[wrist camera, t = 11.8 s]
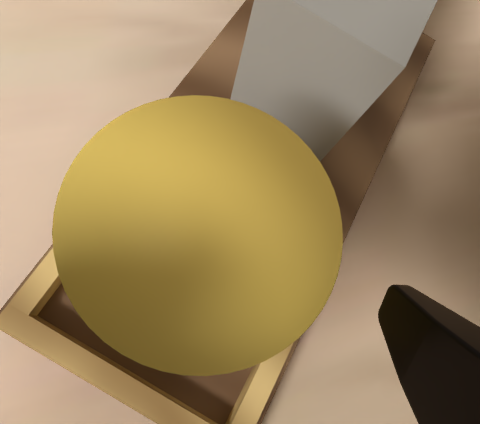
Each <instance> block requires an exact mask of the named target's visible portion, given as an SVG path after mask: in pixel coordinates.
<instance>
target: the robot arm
mask: <svg viewBox="0 0 480 424" xmlns="http://www.w3.org/2000/svg"><path fill="white" fill-rule="evenodd" d="M378 318H379V323H380V326H381V329H382V332H383V335H384V337H385V340H386V343H387V346H388V349H389V352H390V355H391V358H392V361H393V364H394V367H395V369H396V372H397V375H398V378H399V380H400V383H401V385H402V388H403V390H404V392H405V395H406V397H407V399H408V401H409V404H410V406H411V408H412V410H413V412H414V415H415V417H416V419H417V421H418V423H419V424H480V327H479V326H477V325H475V324H474V323H472V322H470V321H468V320H467V319H465V318H463V317H462V316H460V315H458V314H457V313H455V312H453V311H452V310H450V309H448V308H446V307H445V306H443V305H441V304H440V303H438V302H436V301H435V300H433V299H431V298H429V297H428V296H426V295H424V294H423V293H421V292H419V291H418V290H416V289H414V288H413V287H411V286H408V285H391V286H390V287H389V288H388V290H387V292H386V295H385V297H384V299H383V302H382V304H381V307H380V309H379V313H378Z"/></svg>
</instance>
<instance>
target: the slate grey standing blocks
mask: <svg viewBox="0 0 480 424" xmlns="http://www.w3.org/2000/svg"><path fill="white" fill-rule="evenodd" d="M436 2H437V0H254V3H253V7H252V11H251V15H250V19H249V24H248V28H247V32H246V36H245V40H244V44H243V48H242V53H241V57H240V61H239V65H238V69H237V73H236V77H235V82H234V86H233V90H232V94H231V98H230V100H234V101H238V102H241V103H244V104H247V105H250V106H252V107H255V108H257V109H259V110H261V111H263V112H265V113H267V114H269V115H271V116H273V117H274V118H276V119H277V120H279V121H280V122H282V123H283V124H284V125H286V126H287V127H288V128H290V129H291V130H292V131H293V132H294V133H295V134H297V135H298V136H299V137H300V138H301V139H302V140H303V141H304V142H305V144H306V145H307V146H308V147H309V148H310V149H311V150H312V152H313V153H314V154H315V156H316V157H317V158H318V160H319V161H321V160H322V159H323V158H324V157H325V156H326V155H327V153H328V152H329V151H330V150H331V149H332V148H333V147H334V146H335V145H336V144H337V142H338V141H339V140H340V139H341V138H342V137H343V136H344V135H345V134H346V132H347V131H348V130H349V129H350V128H351V127H352V126H353V125H354V124H355V122H356V121H357V120H358V119H359V118H360V117H361V116H362V115H363V114H364V113H365V111H366V110H367V109H368V108H369V107H370V106H371V105H372V104H373V103H374V101H375V100H376V99H377V98H378V97H379V96H380V95H381V94H382V93H383V92H384V90H385V89H386V88H387V87H388V86H389V85H390V84H391V83H392V82H393V80H394V79H395V78H396V77H397V76H398V75H399V74H400V73H401V72H402V70H403V69H404V68H405V67H406V65H407V63H408V61H409V59H410V56H411V54H412V52H413V50H414V48H415V46H416V44H417V42H418V40H419V38H420V36H421V34H422V31H423V29H424V27H425V25H426V23H427V21H428V19H429V17H430V15H431V13H432V11H433V9H434V6H435V4H436Z"/></svg>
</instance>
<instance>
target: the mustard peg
mask: <svg viewBox="0 0 480 424" xmlns="http://www.w3.org/2000/svg"><path fill="white" fill-rule="evenodd" d="M52 238H53V253H54V257H55V262H56V267H57V271H58V274H59V277H60V280H61V282H62V285H63V288H64V290H65V292H66V294H67V296H68V298H69V300H70V301H71V303H72V305H73V307H74V309H75V310H76V312H77V313H78V314H79V315H80V317H81V318H82V319H83V321H84V322H85V323H86V324H87V326H88V327H89V328H90V329H91V330H92V331H93V332H94V333H95V334H96V335H97V336H98V337H99V338H100V339H102V340H103V341H104V342H105V343H106V344H108V345H109V346H110V347H112V348H113V349H115V350H116V351H118V352H119V353H120V354H122V355H124V356H126V357H128V358H130V359H132V360H134V361H136V362H138V363H140V364H141V365H144V366H147V367H150V368H153V369H156V370H159V371H162V372H168V373H174V374H179V375H188V376H211V375H220V374H228V373H231V372H235V371H239V370H243V369H247V368H249V367H252V366H254V365H257V364H259V363H261V362H264V361H266V360H268V359H270V358H271V357H273V356H275V355H276V354H278V353H280V352H281V351H283V350H284V349H286V348H287V347H288V346H289V345H291V344H292V343H293V342H294V341H296V340H297V339H298V338H299V337H300V336H301V335H302V334H303V333H304V332H305V331H306V330H307V329H308V328H309V327H310V326H311V325H312V323H313V322H314V320H315V319H316V318H317V316H318V315H319V313H320V312H321V311H322V309H323V307H324V306H325V304H326V302H327V300H328V298H329V296H330V294H331V292H332V289H333V287H334V284H335V281H336V278H337V276H338V271H339V267H340V262H341V257H342V245H343V231H342V220H341V214H340V207H339V204H338V201H337V197H336V194H335V191H334V188H333V186H332V184H331V181H330V179H329V177H328V175H327V173H326V171H325V170H324V168H323V166H322V164H321V163H320V161H319V160H318V158H317V157H316V156H315V154H314V153H313V152H312V150H311V149H310V148H309V147H308V146H307V145H306V144H305V142H304V141H303V140H302V139H301V138H300V137H299V136H298V135H297V134H295V133H294V132H293V131H292V130H291V129H290V128H288V127H287V126H286V125H284V124H283V123H282V122H280V121H279V120H277V119H276V118H274V117H273V116H271V115H269V114H267V113H265V112H263V111H261V110H259V109H257V108H255V107H252V106H250V105H247V104H244V103H241V102H238V101H234V100H230V99H227V98H220V97H214V96H200V95H190V96H176V97H171V98H165V99H160V100H157V101H153V102H150V103H147V104H144V105H141V106H139V107H137V108H134V109H132V110H130V111H128V112H126V113H124V114H123V115H121V116H119V117H118V118H116V119H114V120H113V121H111V122H110V123H109V124H107V125H106V126H105V127H104V128H102V129H101V130H100V131H98V132H97V133H96V134H95V135H94V136H93V137H92V138H91V140H90V141H89V142H88V143H87V144H86V145H85V146H84V147H83V148H82V150H81V151H80V152H79V154H78V155H77V156H76V158H75V159H74V161H73V163H72V164H71V166H70V168H69V170H68V172H67V173H66V175H65V177H64V180H63V182H62V185H61V188H60V190H59V193H58V197H57V201H56V205H55V209H54V216H53V228H52Z"/></svg>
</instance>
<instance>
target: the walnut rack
mask: <svg viewBox="0 0 480 424" xmlns="http://www.w3.org/2000/svg"><path fill="white" fill-rule="evenodd" d="M253 3H254V0H246V1H245V2H244V3H243V5H242V6H241V7H240V9H239V10H238V11H237V12H236V14H235V15H234V16H233V17H232V19H231V20H230V21H229V22H228V24H227V25H226V26H225V27H224V29H223V30H222V31H221V32H220V34H219V35H218V36H217V38H216V39H215V40H214V41H213V43H212V44H211V45H210V46H209V48H208V49H207V50H206V51H205V53H204V54H203V55H202V56H201V58H200V59H199V60H198V61H197V63H196V64H195V65H194V67H193V68H192V69H191V70H190V72H189V73H188V74H187V75H186V77H185V78H184V79H183V80H182V82H181V83H180V84H179V85H178V87H177V88H176V89H175V90H174V92H173V93H172V94H171V95H170V97H169V98H171V97H176V96H190V95H200V96H214V97H220V98H227V99H230V98H231V94H232V90H233V86H234V82H235V77H236V73H237V69H238V65H239V61H240V57H241V53H242V48H243V44H244V40H245V36H246V32H247V28H248V24H249V19H250V15H251V11H252V7H253ZM434 42H435V40H434V39H432V38H430V37H429V36H427V35H425V34H424V33H422V34H421V36H420V38H419V40H418V42H417V44H416V46H415V48H414V50H413V52H412V54H411V56H410V59H409V61H408V63H407V65H406V67H405V68H404V69H403V70H402V72H401V73H400V74H399V75H398V76H397V77H396V78H395V79H394V80H393V82H392V83H391V84H390V85H389V86H388V87H387V88H386V89H385V90H384V92H383V93H382V94H381V95H380V96H379V97H378V98H377V99H376V100H375V101H374V103H373V104H372V105H371V106H370V107H369V108H368V109H367V110H366V111H365V113H364V114H363V115H362V116H361V117H360V118H359V119H358V120H357V121H356V122H355V124H354V125H353V126H352V127H351V128H350V129H349V130H348V131H347V132H346V134H345V135H344V136H343V137H342V138H341V139H340V140H339V141H338V142H337V144H336V145H335V146H334V147H333V148H332V149H331V150H330V151H329V152H328V153H327V155H326V156H325V157H324V158H323V159H322V160H321V161H320V163H321V164H322V166H323V168H324V170H325V171H326V173H327V175H328V177H329V179H330V181H331V184H332V186H333V188H334V191H335V194H336V197H337V201H338V204H339V207H340V214H341V220H342V231H343V242H344V240H345V238H346V235H347V233H348V231H349V229H350V227H351V224H352V222H353V220H354V218H355V216H356V213H357V211H358V209H359V207H360V205H361V202H362V200H363V198H364V196H365V194H366V191H367V189H368V187H369V185H370V183H371V180H372V178H373V176H374V174H375V172H376V169H377V167H378V165H379V163H380V161H381V158H382V156H383V154H384V152H385V150H386V147H387V145H388V143H389V141H390V138H391V136H392V134H393V132H394V130H395V127H396V125H397V123H398V121H399V119H400V116H401V114H402V112H403V110H404V108H405V105H406V103H407V101H408V99H409V97H410V94H411V92H412V90H413V88H414V86H415V83H416V81H417V79H418V77H419V75H420V72H421V70H422V68H423V66H424V64H425V61H426V59H427V57H428V55H429V53H430V50H431V48H432V46H433V44H434ZM0 330H1V331H3V332H5V333H6V334H8V335H10V336H11V337H13V338H15V339H17V340H18V341H20V342H22V343H23V344H25V345H27V346H28V347H30V348H32V349H33V350H35V351H37V352H38V353H40V354H42V355H43V356H45V357H47V358H48V359H50V360H52V361H53V362H55V363H57V364H58V365H60V366H62V367H63V368H65V369H67V370H68V371H70V372H72V373H73V374H75V375H77V376H78V377H80V378H82V379H83V380H85V381H87V382H88V383H90V384H92V385H93V386H95V387H97V388H98V389H100V390H102V391H103V392H105V393H107V394H109V395H110V396H112V397H114V398H115V399H117V400H119V401H120V402H122V403H124V404H125V405H127V406H129V407H130V408H132V409H134V410H135V411H137V412H139V413H140V414H142V415H144V416H145V417H147V418H149V419H150V420H152V421H154V422H155V423H157V424H261V422H262V420H263V418H264V416H265V414H266V411H267V409H268V407H269V405H270V403H271V400H272V398H273V396H274V394H275V392H276V389H277V387H278V385H279V383H280V381H281V378H282V376H283V374H284V372H285V370H286V367H287V365H288V363H289V361H290V359H291V356H292V354H293V352H294V350H295V348H296V345H297V343H298V341H299V339H300V337H301V336H300V337H299V338H298V339H297V340H296V341H294V342H293V343H292V344H291V345H289V346H288V347H287V348H286V349H284V350H283V351H281V352H280V353H278V354H276V355H275V356H273V357H271V358H270V359H268V360H266V361H264V362H261V363H259V364H257V365H254V366H252V367H249V368H247V369H243V370H239V371H235V372H231V373H228V374H220V375H211V376H188V375H179V374H174V373H168V372H162V371H159V370H156V369H153V368H150V367H147V366H144V365H141V364H140V363H138V362H136V361H134V360H132V359H130V358H128V357H126V356H124V355H122V354H120V353H119V352H118V351H116V350H115V349H113V348H112V347H110V346H109V345H108V344H106V343H105V342H104V341H103V340H102V339H100V338H99V337H98V336H97V335H96V334H95V333H94V332H93V331H92V330H91V329H90V328H89V327H88V326H87V324H86V323H85V322H84V321H83V319H82V318H81V317H80V315H79V314H78V313H77V312H76V310H75V309H74V307H73V305H72V303H71V301H70V300H69V298H68V296H67V294H66V292H65V290H64V288H63V285H62V282H61V280H60V277H59V274H58V271H57V267H56V262H55V257H54V253H53V244H52V245H51V247H50V248H49V249H48V251H47V252H46V253H45V254H44V256H43V257H42V258H41V259H40V261H39V262H38V263H37V264H36V266H35V267H34V268H33V269H32V271H31V272H30V273H29V274H28V276H27V277H26V278H25V279H24V281H23V282H22V283H21V285H20V286H19V287H18V288H17V290H16V291H15V292H14V293H13V295H12V296H11V297H10V298H9V300H8V301H7V302H6V303H5V305H4V306H3V307H2V308H1V310H0Z"/></svg>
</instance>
